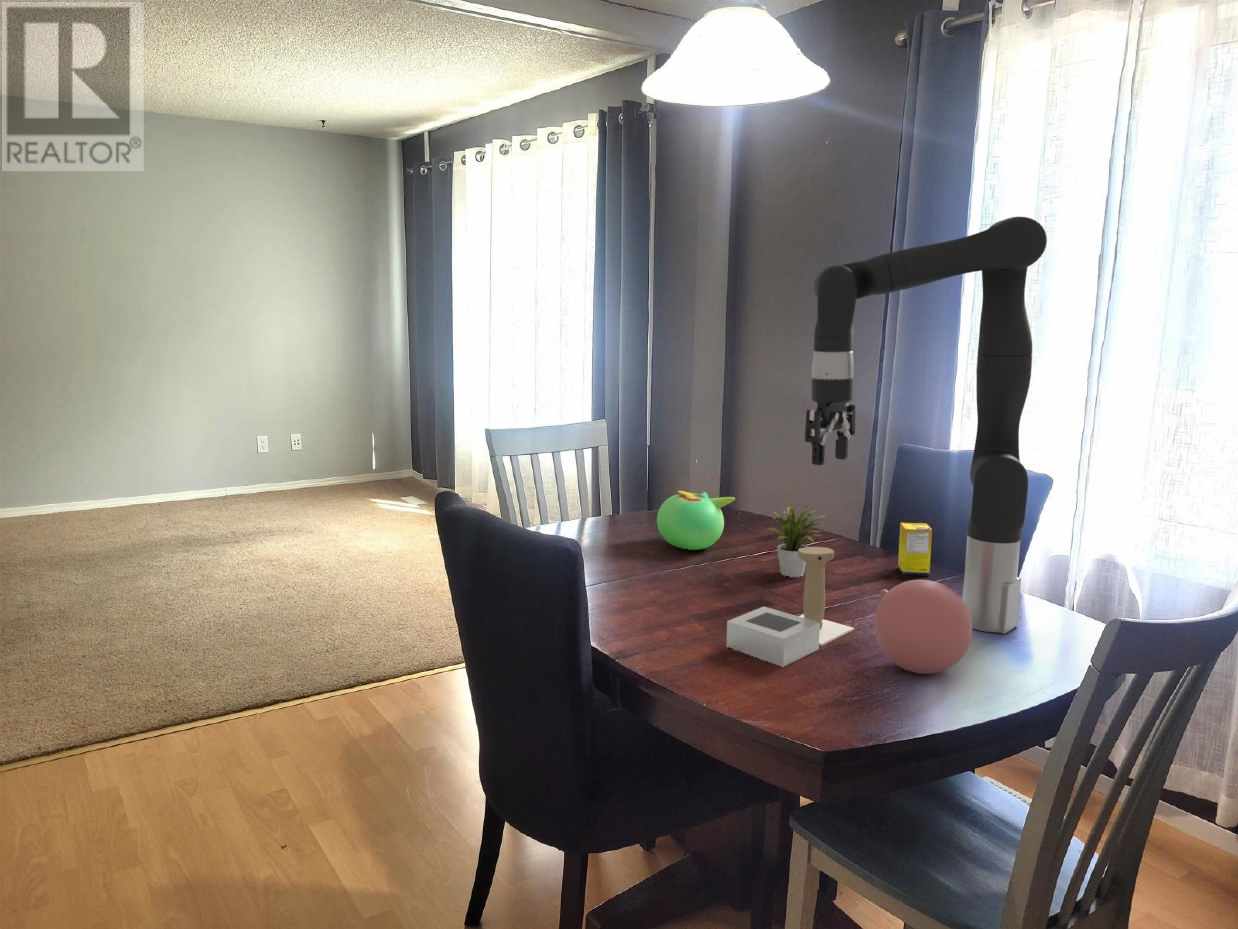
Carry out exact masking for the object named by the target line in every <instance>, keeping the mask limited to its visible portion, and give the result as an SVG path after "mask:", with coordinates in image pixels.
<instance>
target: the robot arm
mask: <svg viewBox="0 0 1238 929" xmlns="http://www.w3.org/2000/svg"><path fill="white" fill-rule="evenodd" d="M1047 242H1048V237H1047V232H1046V230H1045V228H1044V226H1042V224H1041V223H1040V222H1038V221H1037V220H1035V219H1033V218H1031V217H1027V216H1019V215H1018V216H1017V215H1016V216H1012V217H1011V216H1010V217H1008V218H1005V219H1002V220H999V221H996V222H994V223H993V224H992V225H991V226H990V227H989V228H987V229H985V230H982V231H980V232H977V233H974V234H971V235H967V236H963V237H960V238H956V239H953V240H952V239H951V240H947V241H942V242H935V243H931V244H925V245H920V246H916V247H915V246H913V247H909V248H908V247H907V248H903V249H900V250H895V251H892V252H887V253H883V254H879V255H876V256H873V257H871V258H868V259H866V260H860V261H854V262H849V263H844V264H836V265H831V266H828V267H826V268H824V269H822V270H821V271H820V272H819V273H818V274H817V275H816V278H815V279H814V281H813V282H814V284H813V289H814V290H813V291H814V293H815V294H814V295H815V296H816V298H817V311H816V313H817V314H816V315H817V316H816V318H817V319H816V323H815V326H814V332H813V333H814V334H813V335H814V337H813V356H812V357H813V358H812V361H811V388H810V390H811V393H810V395H811V398H810V399H811V401H812V402H816V404H817V405H816V409H807V410H806V416H805V429H804V430H805V431H804V432H805V433H804V442H806V443H810V445H811V464H812V465H815V466H824V465H825V450H826V448H825V447H826V445H825V443H826V441H827V438H828V436H831V434H832V432H834V434H835V438H836V439H835V450H834V451H835V454H834V455H835V459H837V460H847V459H848V454H849V453H848V450H849V449H848V447H849V440H850V439H851V436H855V434H856V405H855V404H853V403H850V402H852V401H853V399H854V398H853V396H854V392H853V391H854V368H855V367H854V366H855V365H854V364H855V363H854V354H853V352H854V349H853V348H854V318H855V313H856V312H855V310H856V304H857V300H858V299H862V298H866V297H869V296H874V295H877V296H878V295H885V294H886V295H887V294H889V293H896V292H899V291H904V290H907V289H911V288H916V287H920V286H923V285H926V284H931V283H934V282H937V281H941V280H945V279H948V278H952V277H955V276H960V275H965V274H969V273H975V272H981V280H982V281H981V282H982V285H981V286H982V304H981V312H980V320H979V334H978V344H977V345H978V346H977V355H976V356H977V358H976V386H975V387H976V388H975V389H976V390H975V392H976V413H977V414H976V415H977V425H976V427H977V428H976V435H975V443H974V448H973V449H974V450H973V455H972V458H971V465H970V470H969V476H970V477H969V478H970V482H971V485H972V486H973V490H972V499H971V512H970V516H969V517H970V518H969V520H968V522H967V523H968V525H967V536H966V537H967V538H966V549H965V550H966V552H965V563H964V577H963V590H962V601H963V602H964V604H965V605H966V607H967V609H968V611H969V614H970V617H971V621H972V630H977V631H981V632H988V633H997V634H998V633H1000V634H1004V635H1005V634H1007V633H1009V632H1010V631H1011V630H1014V629H1015V628H1016V627H1018V619H1019V610H1020V597H1021V596H1020V595H1021V587H1022V586H1021V585H1022V584H1021V583H1022V578H1020V577H1018V573H1019V572H1018V571H1019V560H1020V559H1019V558H1020V549H1021V537H1022V536H1021V535H1022V531H1023V527H1024V524H1025V518H1026V510H1027V500H1028V492H1029V490H1028V489H1029V476H1028V472H1027V470H1026V468H1025V466H1024V465H1023V464H1022V463H1021V459H1020V448H1019V447H1020V445H1019V444H1020V441H1019V439H1020V423H1021V418H1022V414H1023V411H1024V408H1025V404H1026V400H1027V397H1028V394H1029V389H1030V383H1031V378H1032V368H1033V366H1032V365H1033V364H1032V363H1033V339H1032V330H1031V325H1030V320H1029V318H1028V317H1029V316H1028V313H1027V308H1026V301H1025V300H1026V299H1025V298H1026V297H1025V296H1026V294H1025V293H1026V292H1025V291H1026V282H1027V273H1028V267H1030V266H1032V265H1034V264H1035V263H1036V262H1038V260H1039V259H1041V257H1042V256H1043V253H1045V250H1046V248H1047V244H1048V243H1047ZM1015 626H1016V627H1015ZM1014 627H1015V628H1014Z"/></svg>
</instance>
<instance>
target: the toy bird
mask: <svg viewBox="0 0 1238 929" xmlns="http://www.w3.org/2000/svg"><path fill="white" fill-rule="evenodd" d="M734 501H736V498H735V497H734V496H724V497H723V496H722V497H714V498H713V497H712V498H711V497H710V498H709V495H708V493H706V492H704V491H703V492H702V493H700V494H698V493H695V492H687V491H684V490H677V494H674V495H672V496H670V497H668V498H667V499H666V500H664V502H663V503H662V504H661V505H660V507H659V509H658V512H657V516H656V524H657V528H658V532H659V534H660V535H661V537H662V538H663V539H664V540H665V541H666V542H667V543H669V544H670V545H672V546H674V547H676V548H679V549H681V548H682V549H681V550H686V549H688V550H687V551H698V550H699V551H700V550H703V549H706V548H708V547H711V546H713V545H714V544H715V543H717V541H718V540H719V539H720V537H721V536H722V534H723V531H724V527H725V518H724V515H723V511H722V510H721V508H723V507H724V506H726V505H729V504H731V503H733V502H734Z"/></svg>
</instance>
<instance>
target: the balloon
mask: <svg viewBox="0 0 1238 929" xmlns="http://www.w3.org/2000/svg"><path fill="white" fill-rule="evenodd" d="M879 592H880V594H879V595H878V597H877V598H878V601H879V604H878V605H877V608H876V611H875V614H874V619H873V620H874V622H873V625H874V628H873V629H874V634H875V638H876V642H877V643H878V646H879V647H880V650H882V652H883V653H884V655H885V656H886V657H887V658H888V659H889V660H890V661H891V662H892V663H893V664H895V665H896V666H898V667H900V668H902V669H904V670H905V671H908V672H911V673H916V674H920V675H929V674H938V673H940V672H944V671H946V670H949V669H950V668H952V667H954V666H955V665H956V664H957V663H958V662H960V661H961V660H962V659H963V657H964V656H965V654H967V652H968V649H969V647H970V645H971V641H972V637H973V628H972V621H971V617H970V614H969V611H968V609H967V607H966V605H965V604H964V602H963V598H961V597H960V596H959V595H958V594H957V593H956V592H955V591H954V590H953V589H951V588H950V587H948V586H946V585H944V584H942V583H941V582H938V581H934V580H929V579H913V580H912V579H911V580H906V581H904V582H901V583H899V584H897V585H896V586H894V587H892V588H891V589H890V590H887V589H886V588H885V589H881V590H880V591H879Z"/></svg>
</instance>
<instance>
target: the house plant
mask: <svg viewBox="0 0 1238 929" xmlns="http://www.w3.org/2000/svg"><path fill="white" fill-rule="evenodd" d="M808 507H809V505H806V506H805V508H804V509H803V510H802V511H801V512H800V514H799V515H798V517H797V519H796V515H795V514H796V513H795V511H794V504H793V502H791V504H790V505H787V508H786V512H785V511H781V510H780V511H779V512H781V513H783V514H784V515H785V516H786V519H785V518H783V517H782V516H780V515H779V514H778V512H776V511H773V510H772V512H773V514H774V515H775V516H774V517H773V516H772V518H773V519H774V520H775V521H776V523H778V524H779V526H780V527H781V529H782V531H783V533H782V532H781V531H780V530H779V529H777V528H775V527H772V526H771V527H767V528H766V530H768V531H771V532H774V533H777V541H776V543H777V544H778V543H779V542H782V541H783V543H781V544H779V545H777V546H776V548H777V557H778V562H779V570H780V575H781V574H782V576H783V575H785V576H784V577H786V576H789V577H788V578H801V577H803V576H804V574H805V572H806V562H805V561H804V560H802V559H801V558H800V557H799V556H798V549H800V548H805V547H808V546H807V545H805V544H804V543H805V542H806V541H807V540H810V541H811V542H812V543H813V544H814V539H813V537H817V536H819V537H821V535H820V534H821V533H820V530H813V529H812V530H807V529H809V528H813V527H816V526H819V525H825V524H827V522H816V521H822V520H824V519H822V518H821V517H824V515H820V516H816V517H814V518H812V515H813V514H814V513H815V512H816V511H817V509H813V510H811V511H810V512H808V513H807V514H806V511H807V510H808V509H809V508H808ZM805 514H806V515H805ZM827 517H830V515H827ZM776 518H777V519H776ZM784 535H785V536H784ZM800 576H801V577H800Z"/></svg>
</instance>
